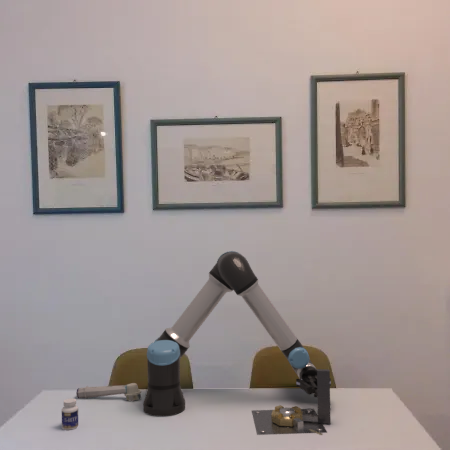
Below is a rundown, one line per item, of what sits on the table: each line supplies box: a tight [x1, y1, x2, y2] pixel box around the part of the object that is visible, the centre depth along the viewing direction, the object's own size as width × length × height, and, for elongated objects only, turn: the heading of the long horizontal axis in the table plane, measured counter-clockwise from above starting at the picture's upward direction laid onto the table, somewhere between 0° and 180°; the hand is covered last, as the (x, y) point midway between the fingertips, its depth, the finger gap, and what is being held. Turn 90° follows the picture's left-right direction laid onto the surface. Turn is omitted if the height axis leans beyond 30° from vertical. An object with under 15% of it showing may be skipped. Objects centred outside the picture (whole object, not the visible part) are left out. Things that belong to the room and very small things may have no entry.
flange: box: [251, 406, 328, 436], centre depth 165 cm, size 22×22×4 cm
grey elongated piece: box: [75, 382, 142, 402], centre depth 193 cm, size 5×7×25 cm
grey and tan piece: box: [271, 368, 331, 426], centre depth 165 cm, size 19×10×17 cm, turn 79°
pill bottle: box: [61, 397, 79, 431], centre depth 166 cm, size 5×5×9 cm
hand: (324, 398), depth 164 cm, fingers closed
